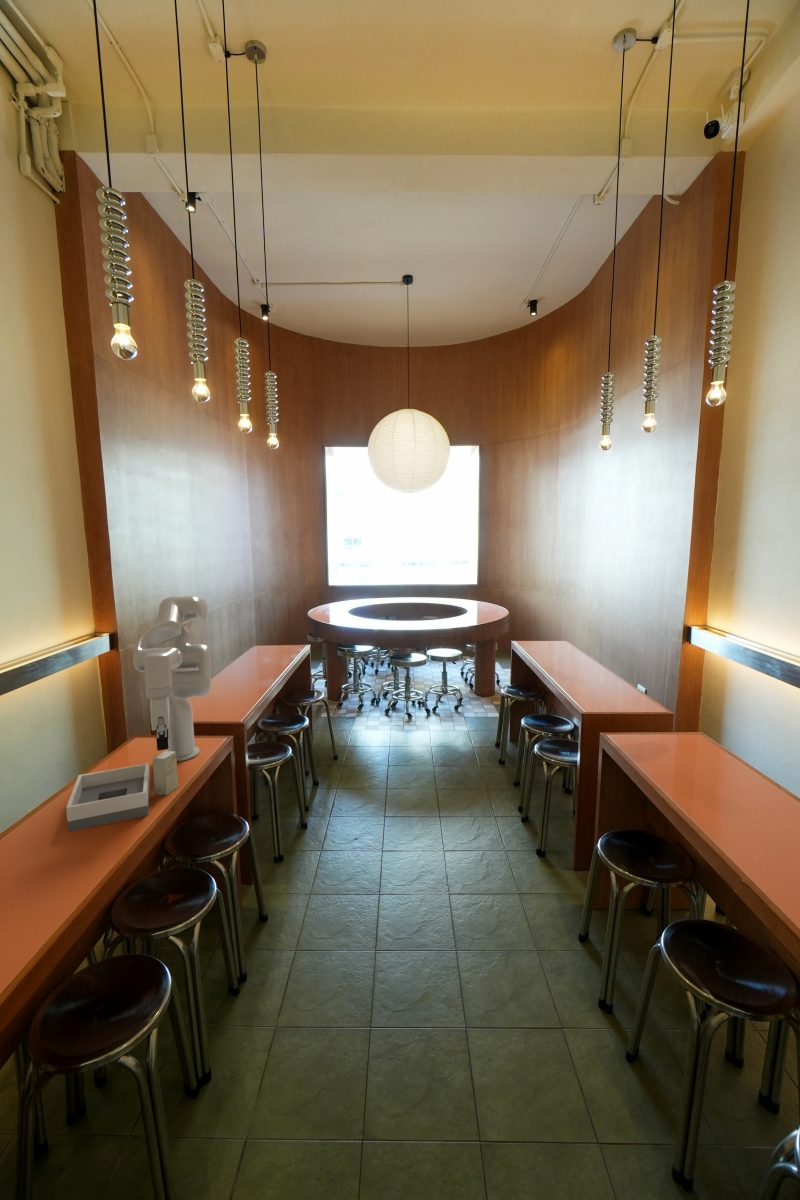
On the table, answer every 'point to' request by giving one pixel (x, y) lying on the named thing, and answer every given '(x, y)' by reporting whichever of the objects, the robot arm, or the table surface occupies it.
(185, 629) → the robot arm
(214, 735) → the table surface
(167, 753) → the skincare box
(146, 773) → the bore box
